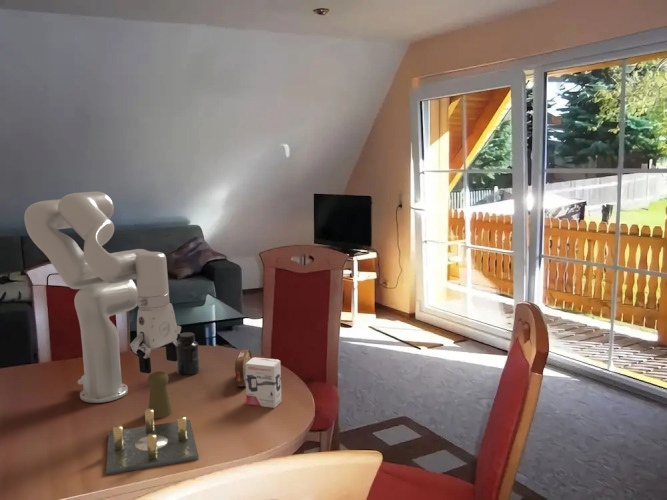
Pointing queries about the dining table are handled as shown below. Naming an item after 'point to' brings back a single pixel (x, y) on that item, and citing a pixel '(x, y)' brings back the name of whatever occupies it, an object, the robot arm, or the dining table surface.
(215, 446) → the dining table surface
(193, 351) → the supplement bottle
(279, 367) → the ink box
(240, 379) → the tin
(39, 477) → the dining table surface
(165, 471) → the dining table surface
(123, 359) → the dining table surface
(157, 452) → the chassis plate
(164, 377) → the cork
